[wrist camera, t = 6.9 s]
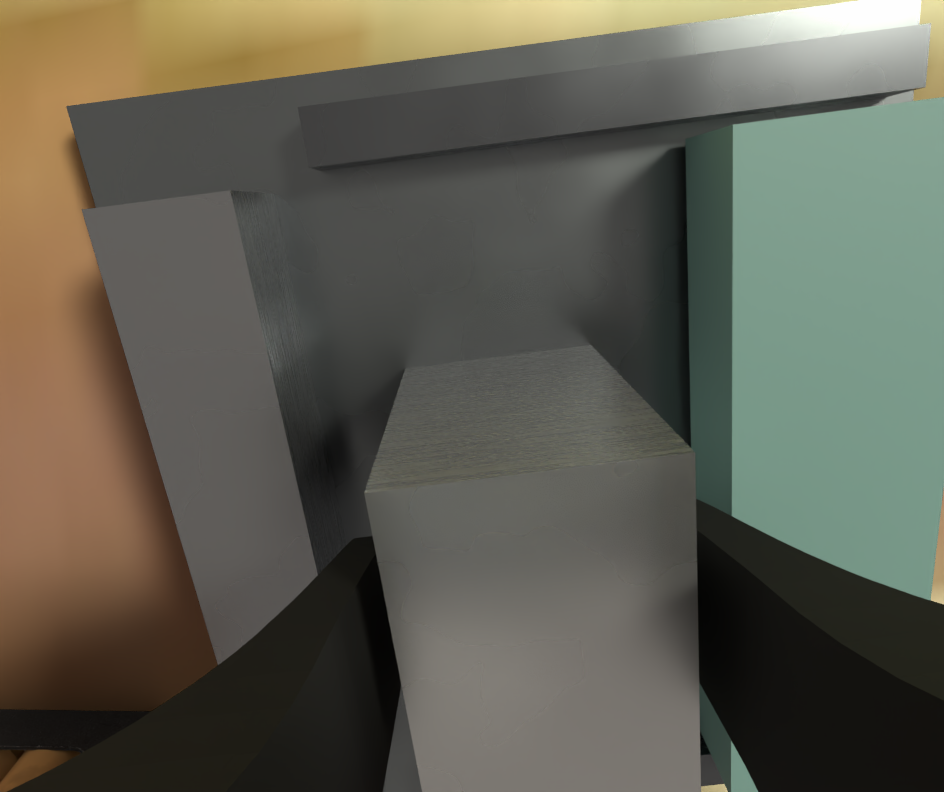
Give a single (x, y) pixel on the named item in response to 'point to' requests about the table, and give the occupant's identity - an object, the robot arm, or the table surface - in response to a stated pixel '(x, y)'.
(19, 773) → the ammunition clip
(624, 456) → the steel block
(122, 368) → the table surface
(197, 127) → the vise bed
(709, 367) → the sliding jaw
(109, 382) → the table surface
